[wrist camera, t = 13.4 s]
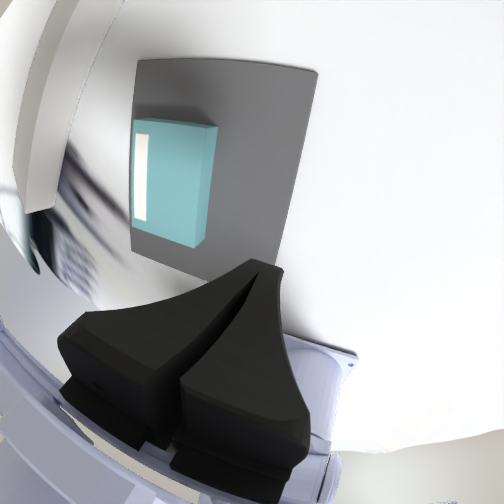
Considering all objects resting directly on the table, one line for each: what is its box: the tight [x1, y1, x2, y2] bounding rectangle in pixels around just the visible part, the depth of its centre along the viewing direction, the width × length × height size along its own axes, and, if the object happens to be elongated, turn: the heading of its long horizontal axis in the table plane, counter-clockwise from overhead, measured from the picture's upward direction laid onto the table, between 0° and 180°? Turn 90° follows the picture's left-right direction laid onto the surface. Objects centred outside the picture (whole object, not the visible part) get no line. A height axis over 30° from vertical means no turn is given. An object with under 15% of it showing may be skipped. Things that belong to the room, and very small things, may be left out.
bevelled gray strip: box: [12, 0, 125, 214], centre depth 19 cm, size 34×5×10 cm
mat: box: [129, 59, 318, 282], centre depth 21 cm, size 18×14×1 cm
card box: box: [131, 118, 218, 248], centre depth 20 cm, size 9×2×6 cm
